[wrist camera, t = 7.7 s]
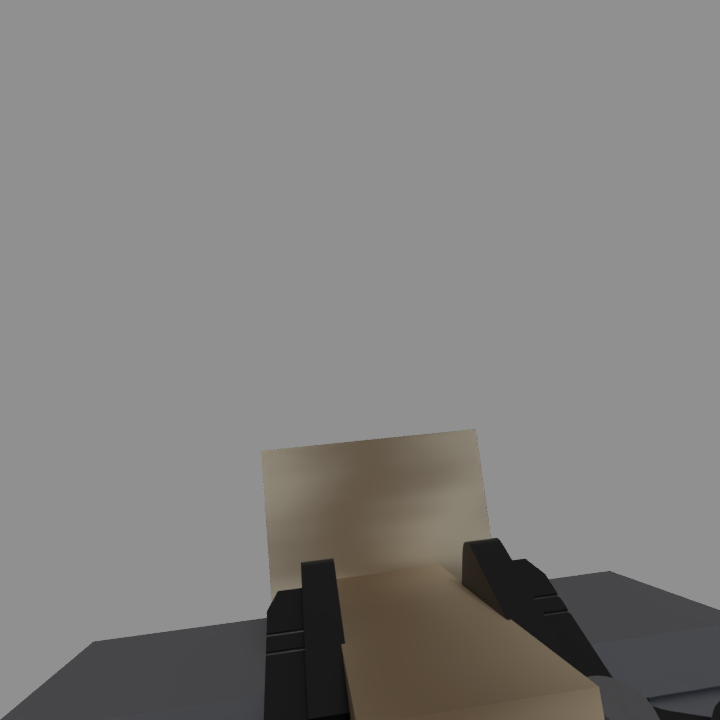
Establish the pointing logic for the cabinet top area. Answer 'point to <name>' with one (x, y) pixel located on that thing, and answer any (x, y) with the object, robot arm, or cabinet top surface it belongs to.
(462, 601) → the wooden mallet
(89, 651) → the wooden stand
